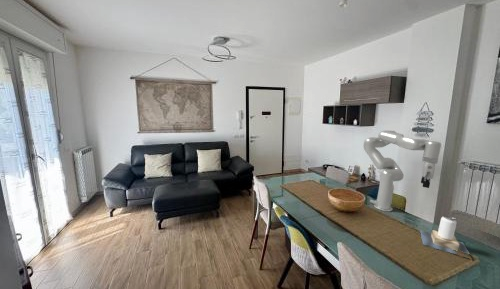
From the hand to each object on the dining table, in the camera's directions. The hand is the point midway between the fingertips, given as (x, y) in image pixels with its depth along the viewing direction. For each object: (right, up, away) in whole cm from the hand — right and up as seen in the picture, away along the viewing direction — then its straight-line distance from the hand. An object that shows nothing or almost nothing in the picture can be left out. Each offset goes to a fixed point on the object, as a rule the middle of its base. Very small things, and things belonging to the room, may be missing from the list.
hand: (424, 185), depth 136 cm
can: (-3, -27, -17) cm, 32 cm away
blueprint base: (-3, -31, -16) cm, 35 cm away
